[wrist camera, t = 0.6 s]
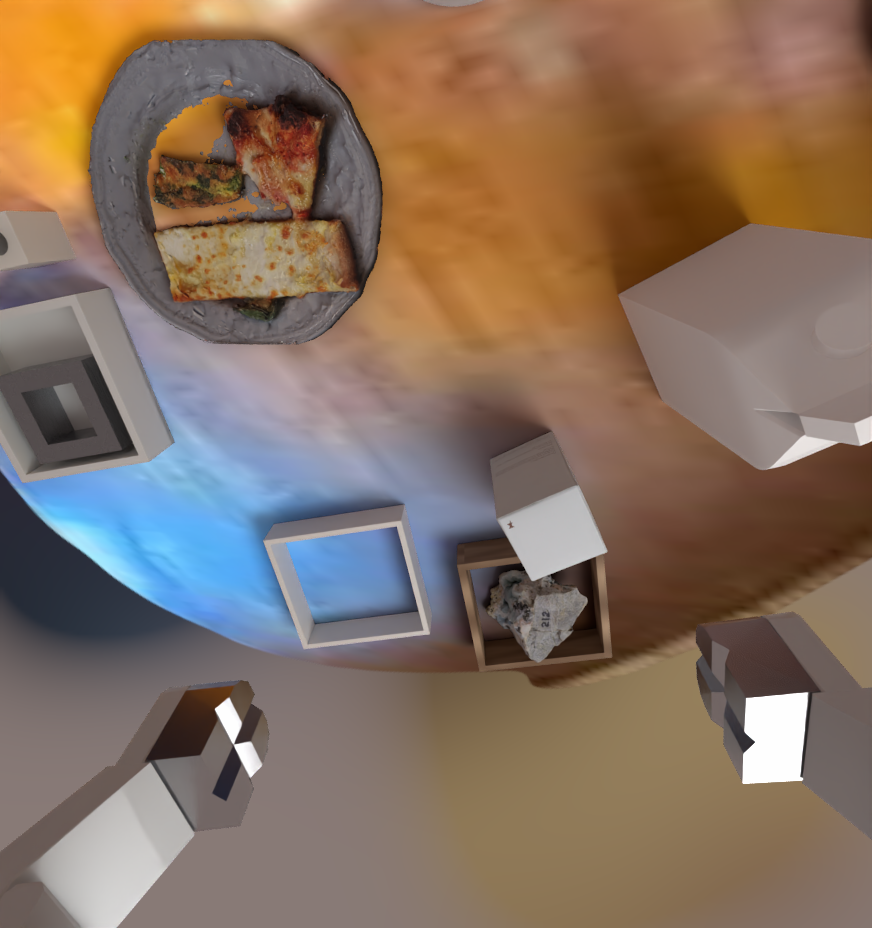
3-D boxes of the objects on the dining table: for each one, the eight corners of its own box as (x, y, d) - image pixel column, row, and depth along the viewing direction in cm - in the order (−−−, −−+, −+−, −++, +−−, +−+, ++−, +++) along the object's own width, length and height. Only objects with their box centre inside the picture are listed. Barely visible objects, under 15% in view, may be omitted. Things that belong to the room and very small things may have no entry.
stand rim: (457, 544, 61) (456, 564, 57) (594, 525, 59) (602, 545, 55) (478, 647, 67) (479, 671, 63) (603, 632, 65) (612, 657, 61)
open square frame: (273, 524, 61) (263, 540, 58) (404, 504, 59) (401, 520, 56) (311, 628, 67) (304, 649, 64) (431, 613, 65) (429, 634, 62)
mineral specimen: (507, 553, 67) (551, 619, 67) (461, 593, 63) (507, 663, 64) (553, 546, 58) (603, 622, 59) (503, 592, 55) (556, 673, 55)
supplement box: (516, 513, 59) (529, 584, 47) (488, 457, 56) (493, 518, 45) (580, 487, 57) (610, 554, 46) (554, 428, 55) (578, 483, 43)
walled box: (-21, 315, 53) (-66, 324, 48) (109, 287, 51) (75, 294, 46) (56, 462, 59) (22, 483, 54) (174, 442, 57) (149, 461, 53)
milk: (662, 400, 53) (821, 546, 29) (617, 294, 49) (759, 364, 25) (787, 341, 50) (1076, 449, 26) (750, 223, 46) (1050, 226, 23)
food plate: (382, 45, 42) (374, 31, 39) (389, 342, 52) (383, 350, 49) (77, 47, 44) (46, 34, 41) (140, 335, 54) (119, 343, 51)
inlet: (25, 367, 54) (-6, 377, 50) (107, 350, 53) (80, 360, 49) (67, 448, 58) (40, 464, 54) (144, 435, 56) (122, 450, 53)
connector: (17, 221, 49) (-61, 221, 42) (56, 211, 49) (-16, 210, 41) (38, 267, 51) (-34, 275, 43) (76, 258, 50) (10, 264, 43)
